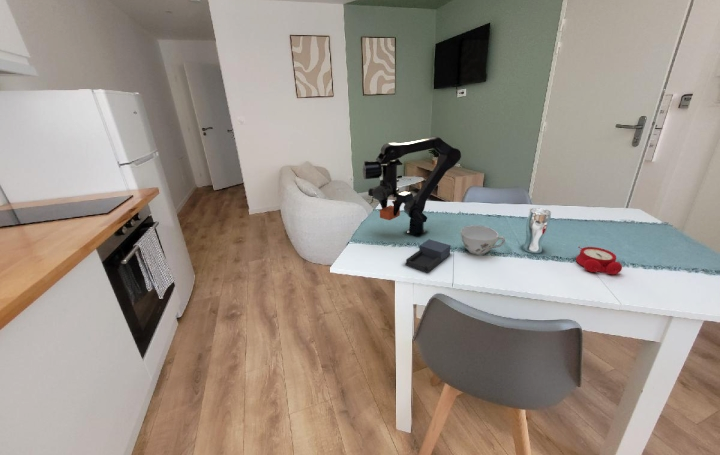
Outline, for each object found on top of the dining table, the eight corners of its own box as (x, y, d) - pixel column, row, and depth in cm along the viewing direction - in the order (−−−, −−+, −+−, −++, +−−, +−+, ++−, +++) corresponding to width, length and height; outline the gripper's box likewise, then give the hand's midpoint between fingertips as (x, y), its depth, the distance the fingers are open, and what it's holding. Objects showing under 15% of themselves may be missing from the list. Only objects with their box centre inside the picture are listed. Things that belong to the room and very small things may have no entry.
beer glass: (537, 245, 110) (545, 207, 104) (547, 253, 103) (556, 214, 97) (518, 245, 110) (525, 207, 104) (526, 253, 104) (534, 214, 98)
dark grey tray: (428, 248, 111) (428, 239, 110) (449, 255, 106) (450, 245, 104) (405, 265, 101) (405, 254, 99) (427, 273, 95) (428, 262, 94)
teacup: (459, 257, 104) (460, 237, 100) (458, 242, 115) (460, 224, 111) (505, 262, 99) (508, 241, 96) (500, 246, 110) (503, 226, 107)
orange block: (390, 213, 124) (390, 205, 123) (399, 215, 121) (399, 207, 119) (379, 217, 119) (379, 209, 118) (389, 220, 116) (389, 212, 115)
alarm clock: (609, 247, 98) (633, 259, 84) (605, 265, 99) (629, 279, 85) (573, 244, 101) (590, 255, 87) (570, 261, 102) (586, 274, 88)
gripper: (358, 178, 114) (360, 215, 120) (396, 184, 102) (396, 225, 108) (376, 172, 122) (377, 207, 128) (414, 178, 110) (413, 216, 116)
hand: (389, 214), depth 120 cm, fingers closed on orange block, 5 cm apart
